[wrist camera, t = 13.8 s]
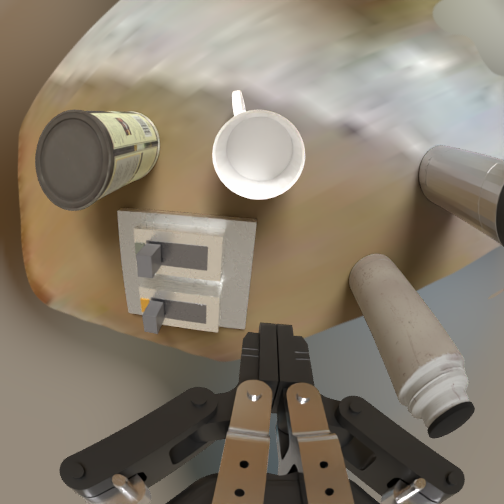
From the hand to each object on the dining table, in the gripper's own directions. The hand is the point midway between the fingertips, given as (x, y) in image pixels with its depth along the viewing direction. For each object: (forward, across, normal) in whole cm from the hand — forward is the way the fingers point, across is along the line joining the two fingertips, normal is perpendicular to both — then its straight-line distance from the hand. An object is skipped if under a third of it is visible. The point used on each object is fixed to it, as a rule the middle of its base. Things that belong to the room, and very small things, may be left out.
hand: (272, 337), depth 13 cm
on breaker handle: (+22, +14, +8) cm, 27 cm away
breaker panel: (+27, +11, +12) cm, 32 cm away
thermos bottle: (+27, -18, +10) cm, 34 cm away
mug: (+27, +2, -8) cm, 29 cm away
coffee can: (+27, +20, -6) cm, 34 cm away
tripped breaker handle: (+22, +14, +17) cm, 31 cm away
